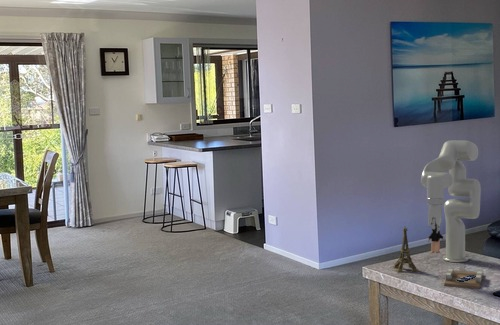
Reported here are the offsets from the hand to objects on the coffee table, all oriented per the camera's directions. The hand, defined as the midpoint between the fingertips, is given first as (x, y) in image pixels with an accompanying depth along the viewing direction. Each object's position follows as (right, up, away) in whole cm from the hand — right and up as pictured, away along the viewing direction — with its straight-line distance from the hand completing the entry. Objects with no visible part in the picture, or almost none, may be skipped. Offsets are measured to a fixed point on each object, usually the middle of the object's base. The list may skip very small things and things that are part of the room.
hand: (435, 240), depth 296 cm
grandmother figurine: (0, -6, +1) cm, 6 cm away
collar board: (+13, -19, -1) cm, 23 cm away
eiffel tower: (-9, -17, +21) cm, 29 cm away
